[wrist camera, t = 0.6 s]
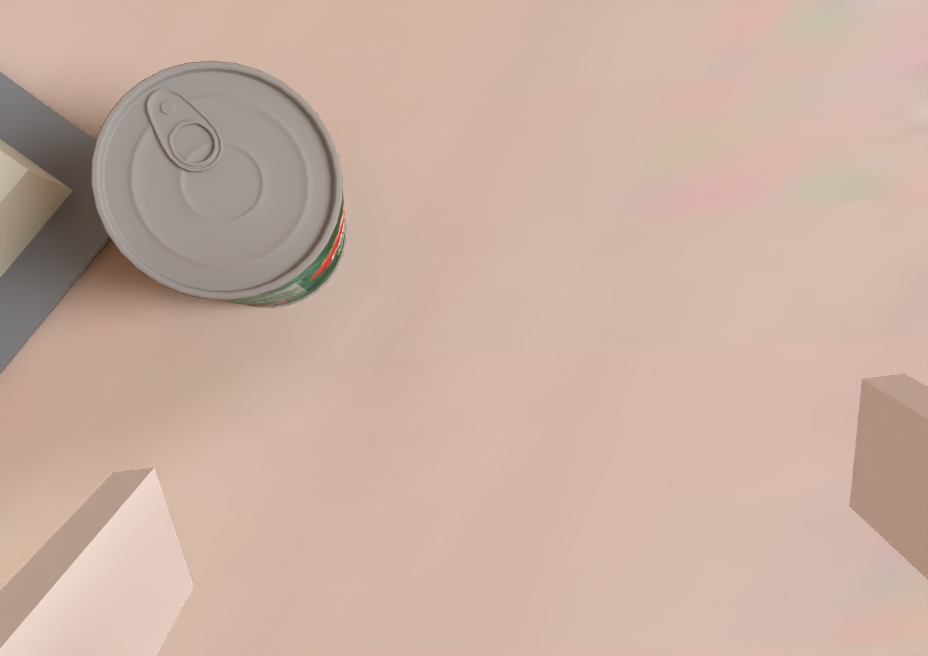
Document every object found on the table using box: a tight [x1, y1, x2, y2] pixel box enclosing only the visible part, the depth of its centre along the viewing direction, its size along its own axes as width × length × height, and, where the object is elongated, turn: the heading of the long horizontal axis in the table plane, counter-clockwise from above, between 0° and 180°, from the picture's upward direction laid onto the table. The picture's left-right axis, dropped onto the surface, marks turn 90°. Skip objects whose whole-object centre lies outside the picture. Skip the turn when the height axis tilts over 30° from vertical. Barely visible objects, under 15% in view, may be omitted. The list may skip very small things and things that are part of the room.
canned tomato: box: [91, 61, 346, 308], centre depth 25 cm, size 8×8×11 cm
